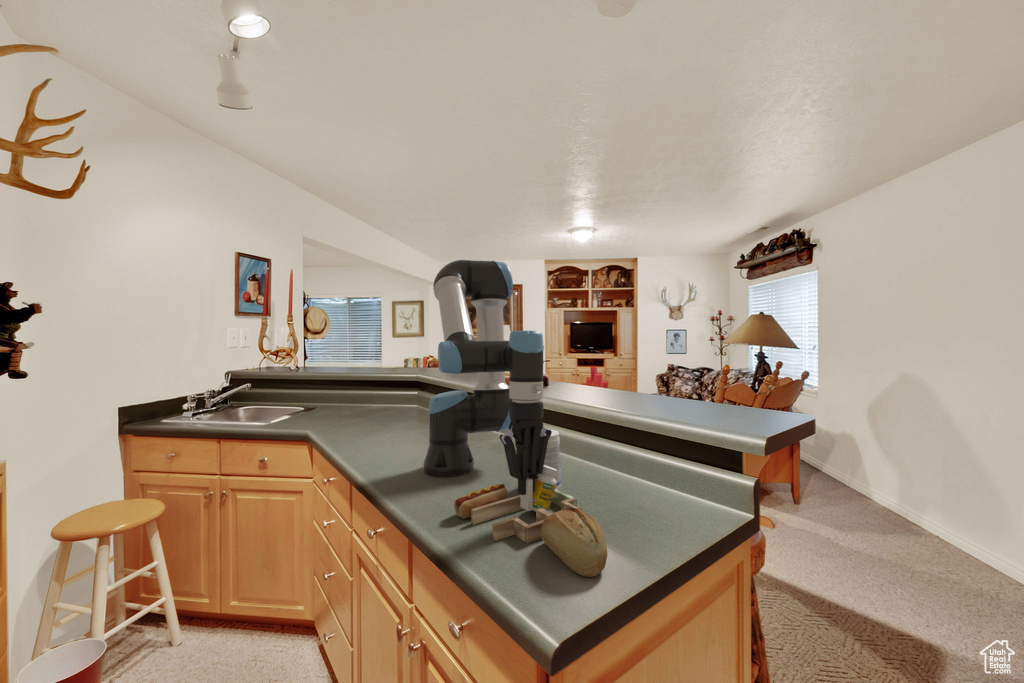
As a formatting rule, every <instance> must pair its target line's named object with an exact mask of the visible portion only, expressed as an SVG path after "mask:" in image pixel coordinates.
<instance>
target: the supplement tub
mask: <svg viewBox="0 0 1024 683" xmlns="http://www.w3.org/2000/svg"><path fill="white" fill-rule="evenodd" d="M547 429H548V428H547ZM548 430H551V431H552V433H551V436H550V438H549V440H548V444H547V450H546V455H545V461H544V465H546V466H549V467H552V468H554V469H556V470H557V473H556V476H554V479H555V480H556V482H557V484H556V488H555V489H557V490H559V491H560V489H561V486H562V482H561V481H562V480H561V478H562V476H561V475H562V474H561V443H560V442H561V441H560V433H559V431H557V430H555V429H550V428H549V429H548Z"/></svg>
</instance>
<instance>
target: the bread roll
mask: <svg viewBox="0 0 1024 683" xmlns="http://www.w3.org/2000/svg"><path fill="white" fill-rule="evenodd" d="M541 537H542V541H543V542H544V543H545V545H546V546H547V547H548V548H549V549H550V550H551V551H552V552H553V553H554V554H556V556H557V557H558V558H559V559H560V560H561V561H562V562H563V563H564V564H565V565H566V566H567V567H568V568H569V569H570V570H571V571H573V572H575V573H576V574H578V575H579V576H581V577H582V576H583V577H586V578H592V577H593V578H594V577H595V576H598V575H600V574H601V573H602V572H603V571H604V569H605V567H606V564H607V558H608V547H607V542H606V539H605V535H604V532H603V530H602V528H601V526H600V524H599V523H598V521H597V520H596V519H595V518H594V517H593V516H592V515H590V514H589V513H587V512H586V511H584V510H583V509H582V510H580V509H575V508H570V509H567V510H561V509H560V510H558V511H555V512H553V513H552V514H551V515H549V516H548V517H547V518H545V520H544V522H543V524H542V527H541Z"/></svg>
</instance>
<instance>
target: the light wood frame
mask: <svg viewBox="0 0 1024 683" xmlns="http://www.w3.org/2000/svg"><path fill="white" fill-rule="evenodd" d="M551 503H553V504H555V505H557V506H558V507H560V511H561V510H567V509H570V508H575V509H580V510H582V511H583V509H582V508H581V507H578V498H576V497H574V496H572V495H571V494H567V493H565V492H563V491H561V490H560V489H559V490H557V489H555V491H554V494H553V498H552V501H551ZM522 510H524V509H523V508H522V507H520V494H519V495H515V496H512V497H507V498H506V499H504V500H501V501H497V502H494V503H490V504H487V505H484V506H480V507H477V508H473V509H471V517H470V518H471V524H472V525H473V526H474V525H477V524H478V525H479V524H480V523H484V522H487V521H490V520H492V519H497V518H499V517H503V516H506V515H509V514H512V513H515V512H519V511H522ZM535 512H536V513H535V514H536V516H535V519H536V521H535V522H532V523H530V524H528V523H526V522H525V521H523V520H522V519H520V518H519V517H517V516H513V517H509V518H506V519H503V520H501V521H497V522H494V523H492V526H491V527H492V532H491V533H492V540H493V541H495V542H497V541H500V540H502V539H506V538H508V537H510V536H514V535H515V537H517V538H518V539H520V540H521V541H523V542H524V543H526V544H528V545H529V544H531V543H534V542H536V541H538V540H541V539H542V537H541V527H542V524H543V522H544V520H545V518H547V517H548V516H549V515H551V514H553V513H552V512H550V511H547V510H545V509H543V508H540V509H537V510H536V511H535Z"/></svg>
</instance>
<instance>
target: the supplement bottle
mask: <svg viewBox="0 0 1024 683" xmlns="http://www.w3.org/2000/svg"><path fill="white" fill-rule="evenodd" d="M556 473H557V470H556V469H554V468H552V467H549V466H546V465H544V466H543V471H542V473H541V474H538V475H537V476H538V479H535V491H534V492H533V510H532V511H533V512H536V510H537V509H540V508H543V509H545V510H547V511H548V512H550V508H551V507H550V506H551V504H552V502H551V501H552V498H553V494H554V491H555V488H556V484H557V482H556V480H555V479H554V476H556Z"/></svg>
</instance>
